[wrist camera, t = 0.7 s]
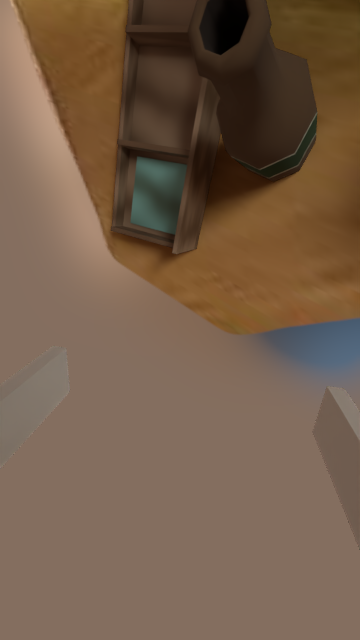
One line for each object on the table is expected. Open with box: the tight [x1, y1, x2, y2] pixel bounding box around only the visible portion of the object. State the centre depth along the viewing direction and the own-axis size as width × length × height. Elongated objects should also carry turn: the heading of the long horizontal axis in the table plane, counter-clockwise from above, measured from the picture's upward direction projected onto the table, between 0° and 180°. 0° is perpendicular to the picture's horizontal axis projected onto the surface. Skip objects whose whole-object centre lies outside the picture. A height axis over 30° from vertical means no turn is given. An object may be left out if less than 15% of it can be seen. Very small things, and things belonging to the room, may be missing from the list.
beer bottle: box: [188, 0, 317, 182], centre depth 22 cm, size 8×8×24 cm
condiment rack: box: [111, 0, 221, 254], centre depth 32 cm, size 34×13×7 cm, turn 168°
